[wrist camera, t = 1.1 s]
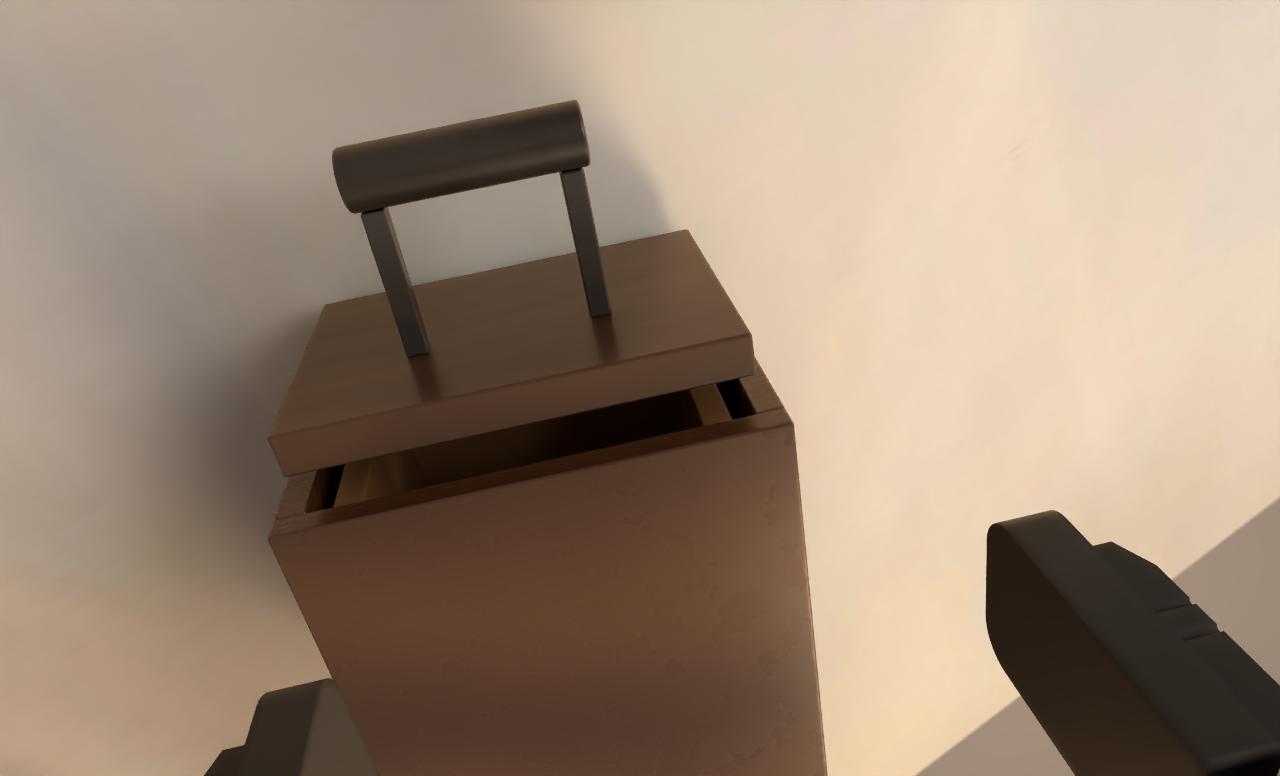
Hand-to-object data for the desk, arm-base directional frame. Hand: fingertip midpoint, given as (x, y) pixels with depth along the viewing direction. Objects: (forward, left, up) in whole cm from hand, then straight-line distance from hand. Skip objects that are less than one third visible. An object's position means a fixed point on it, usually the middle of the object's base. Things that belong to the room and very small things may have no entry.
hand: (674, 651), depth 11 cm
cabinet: (+12, -2, -21) cm, 24 cm away
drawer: (+7, -2, -20) cm, 21 cm away
